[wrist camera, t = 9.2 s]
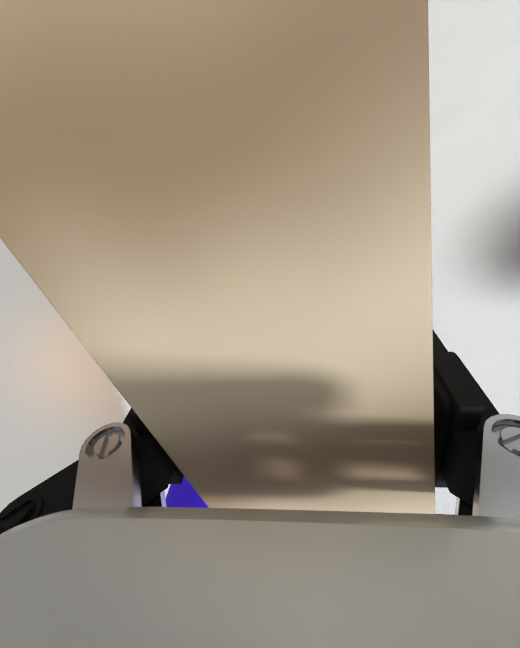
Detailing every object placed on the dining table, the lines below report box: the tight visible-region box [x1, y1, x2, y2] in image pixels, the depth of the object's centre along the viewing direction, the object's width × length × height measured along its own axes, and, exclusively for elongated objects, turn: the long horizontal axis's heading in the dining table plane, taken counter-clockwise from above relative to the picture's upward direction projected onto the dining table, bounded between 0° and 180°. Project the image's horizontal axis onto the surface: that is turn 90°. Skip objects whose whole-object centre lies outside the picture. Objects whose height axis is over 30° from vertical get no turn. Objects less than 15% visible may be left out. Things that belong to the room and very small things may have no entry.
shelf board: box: [0, 0, 435, 514], centre depth 10 cm, size 24×6×6 cm, turn 18°
